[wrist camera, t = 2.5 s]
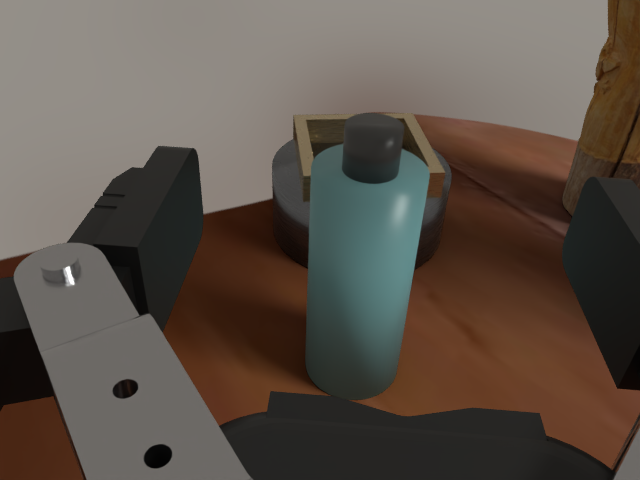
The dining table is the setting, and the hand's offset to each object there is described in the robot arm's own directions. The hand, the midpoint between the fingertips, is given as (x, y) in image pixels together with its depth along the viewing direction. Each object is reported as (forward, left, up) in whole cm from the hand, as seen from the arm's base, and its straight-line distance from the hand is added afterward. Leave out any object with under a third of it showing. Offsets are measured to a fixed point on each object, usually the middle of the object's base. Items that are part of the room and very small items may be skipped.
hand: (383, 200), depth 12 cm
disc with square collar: (-4, -24, -17) cm, 30 cm away
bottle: (-2, -11, -17) cm, 21 cm away
